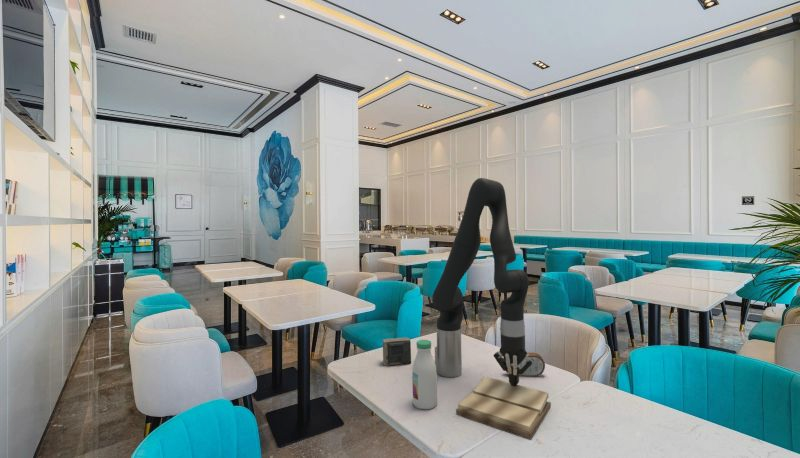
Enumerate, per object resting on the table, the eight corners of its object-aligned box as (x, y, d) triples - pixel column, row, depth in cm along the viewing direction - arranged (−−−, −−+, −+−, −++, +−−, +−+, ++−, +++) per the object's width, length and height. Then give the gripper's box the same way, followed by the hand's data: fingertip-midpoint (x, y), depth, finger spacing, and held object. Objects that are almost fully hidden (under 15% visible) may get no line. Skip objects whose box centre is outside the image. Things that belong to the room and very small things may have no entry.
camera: (409, 359, 152) (409, 336, 152) (412, 365, 146) (411, 340, 146) (382, 361, 150) (381, 337, 150) (383, 367, 145) (383, 342, 145)
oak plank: (473, 394, 117) (472, 390, 117) (484, 380, 124) (483, 376, 124) (540, 414, 105) (540, 409, 105) (548, 397, 112) (548, 392, 111)
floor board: (456, 414, 109) (455, 404, 109) (483, 388, 125) (483, 379, 125) (530, 439, 96) (530, 428, 96) (550, 407, 112) (550, 397, 112)
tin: (543, 374, 135) (543, 351, 135) (546, 377, 132) (545, 355, 132) (502, 373, 137) (501, 351, 137) (503, 377, 134) (503, 354, 134)
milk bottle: (439, 399, 118) (438, 338, 117) (434, 412, 111) (432, 346, 110) (416, 396, 120) (415, 336, 120) (409, 408, 113) (408, 344, 113)
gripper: (537, 331, 115) (538, 385, 116) (497, 325, 123) (498, 375, 124) (530, 339, 109) (531, 395, 110) (488, 332, 117) (489, 384, 118)
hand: (513, 384), depth 117 cm, fingers closed
